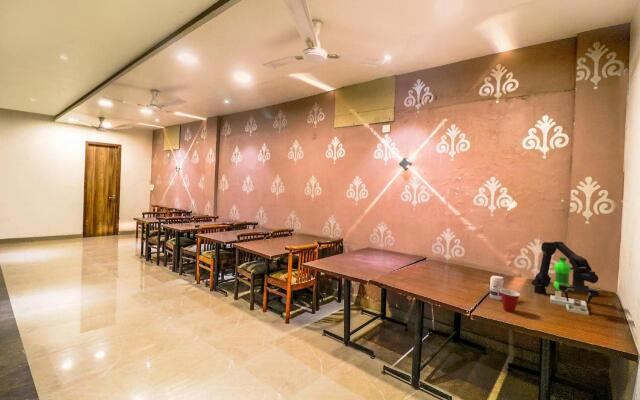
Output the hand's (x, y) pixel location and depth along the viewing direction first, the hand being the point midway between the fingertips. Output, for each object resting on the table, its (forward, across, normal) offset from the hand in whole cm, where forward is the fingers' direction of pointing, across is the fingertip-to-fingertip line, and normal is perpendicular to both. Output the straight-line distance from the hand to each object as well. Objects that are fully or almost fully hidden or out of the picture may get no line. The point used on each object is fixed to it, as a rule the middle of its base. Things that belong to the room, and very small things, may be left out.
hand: (577, 303), depth 189 cm
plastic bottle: (+6, -6, +47) cm, 48 cm away
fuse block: (+6, -4, +10) cm, 13 cm away
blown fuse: (+5, 0, 0) cm, 5 cm away
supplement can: (+6, -43, -4) cm, 44 cm away
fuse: (+4, -9, +10) cm, 15 cm away
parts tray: (+6, 0, 0) cm, 6 cm away
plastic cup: (+6, -34, -24) cm, 42 cm away
